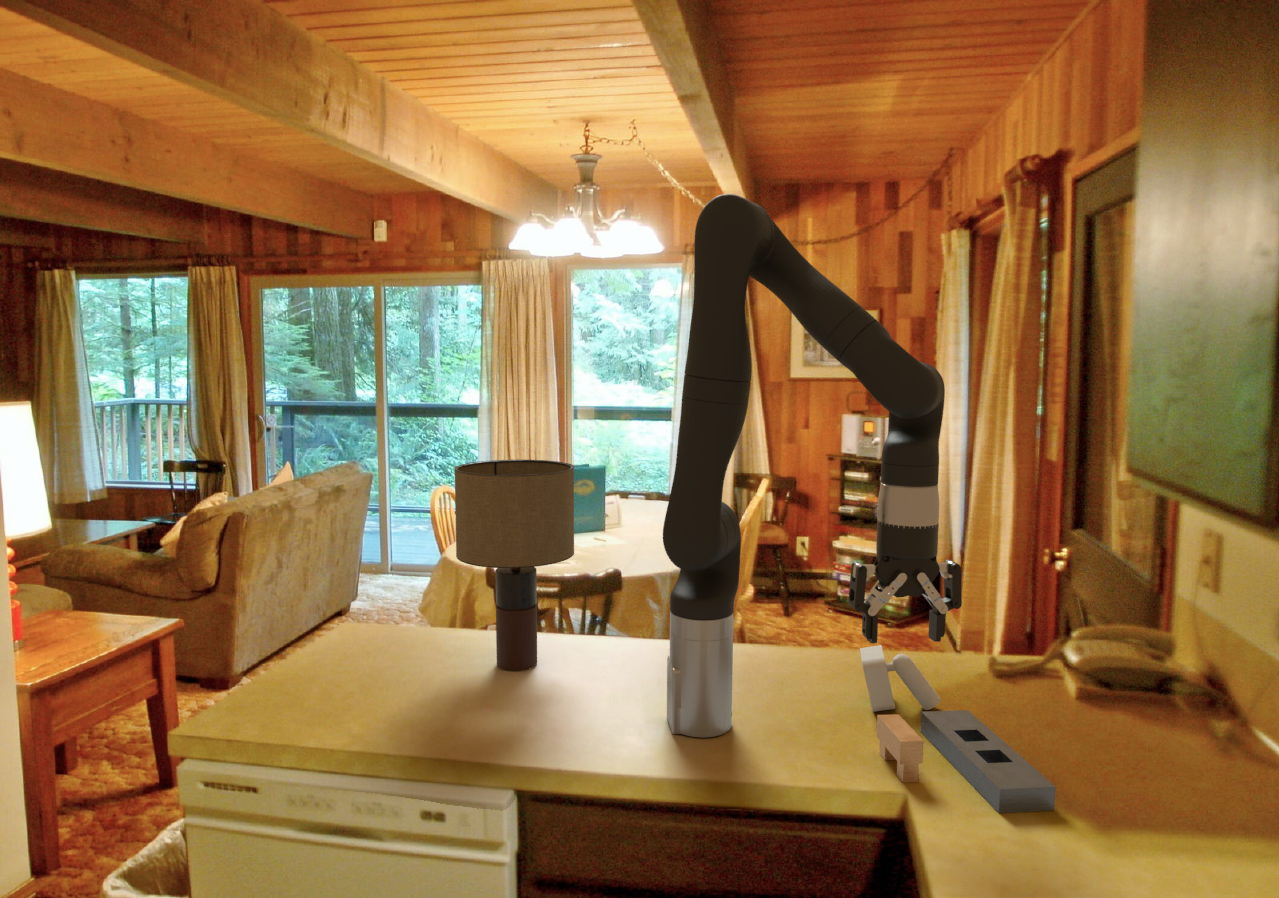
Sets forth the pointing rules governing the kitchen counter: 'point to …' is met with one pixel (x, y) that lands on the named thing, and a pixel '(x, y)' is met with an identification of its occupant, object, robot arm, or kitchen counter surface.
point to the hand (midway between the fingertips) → (903, 640)
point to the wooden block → (900, 746)
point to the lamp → (515, 539)
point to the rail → (988, 762)
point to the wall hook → (881, 685)
